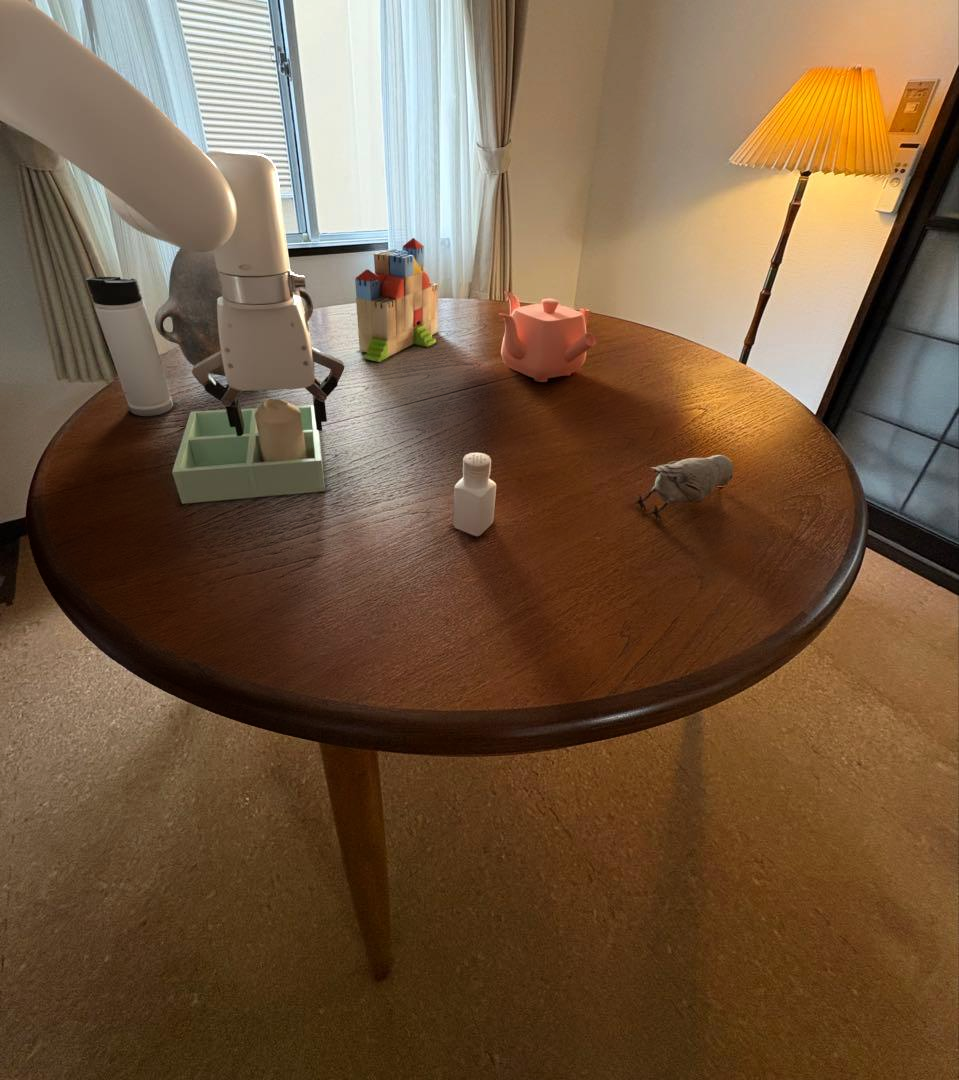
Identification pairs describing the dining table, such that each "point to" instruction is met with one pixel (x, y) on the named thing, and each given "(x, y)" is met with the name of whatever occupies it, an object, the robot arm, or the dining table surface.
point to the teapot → (545, 338)
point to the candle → (280, 431)
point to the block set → (396, 303)
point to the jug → (198, 306)
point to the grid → (241, 460)
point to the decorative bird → (689, 480)
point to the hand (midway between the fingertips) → (280, 428)
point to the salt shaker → (474, 495)
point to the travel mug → (131, 344)
